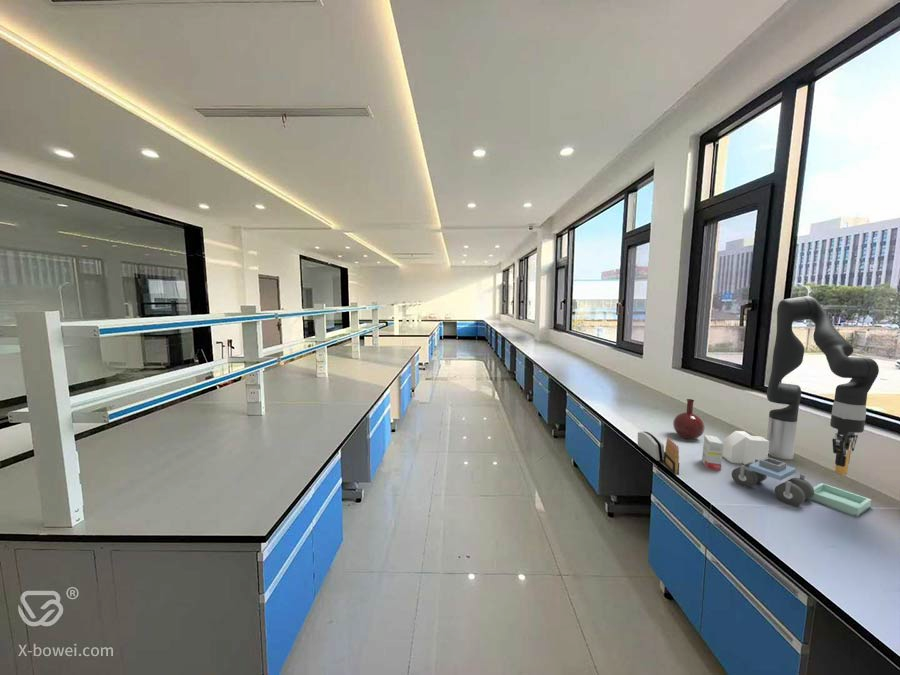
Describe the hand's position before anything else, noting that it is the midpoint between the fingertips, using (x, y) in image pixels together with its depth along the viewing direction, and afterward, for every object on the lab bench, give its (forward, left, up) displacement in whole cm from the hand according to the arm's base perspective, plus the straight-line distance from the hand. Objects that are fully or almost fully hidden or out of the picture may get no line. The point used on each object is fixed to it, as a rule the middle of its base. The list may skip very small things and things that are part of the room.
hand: (841, 464), depth 119 cm
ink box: (+8, -35, -14) cm, 39 cm away
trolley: (+12, -14, -14) cm, 23 cm away
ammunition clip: (+27, -41, -14) cm, 51 cm away
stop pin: (0, 0, -3) cm, 3 cm away
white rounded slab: (+21, -53, -14) cm, 58 cm away
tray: (0, 0, -14) cm, 14 cm away
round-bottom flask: (-14, -57, -14) cm, 60 cm away
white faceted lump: (-8, -31, -14) cm, 35 cm away
